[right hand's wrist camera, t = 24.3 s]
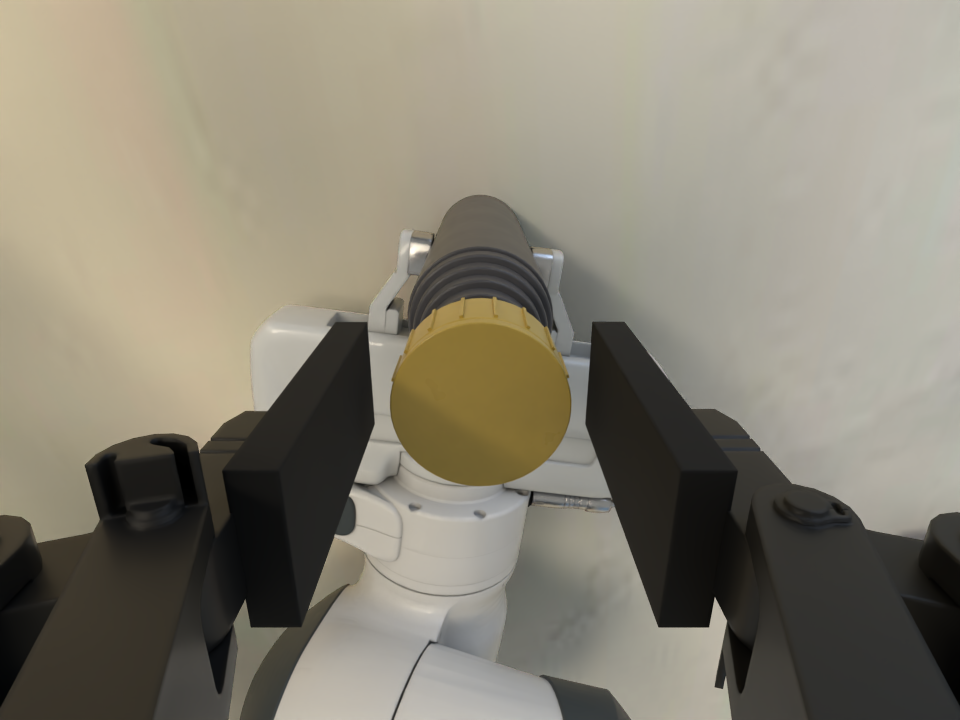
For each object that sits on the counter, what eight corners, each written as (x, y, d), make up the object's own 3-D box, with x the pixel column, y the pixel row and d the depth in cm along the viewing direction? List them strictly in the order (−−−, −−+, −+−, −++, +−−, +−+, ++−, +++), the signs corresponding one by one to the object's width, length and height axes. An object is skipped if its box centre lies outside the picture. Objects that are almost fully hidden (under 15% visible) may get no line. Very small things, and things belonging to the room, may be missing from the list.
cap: (596, 376, 14) (613, 412, 12) (478, 473, 15) (477, 519, 13) (484, 259, 13) (485, 280, 11) (365, 371, 14) (349, 407, 12)
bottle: (537, 234, 33) (625, 389, 13) (482, 292, 34) (485, 514, 14) (477, 177, 32) (474, 249, 12) (422, 238, 33) (336, 399, 13)
